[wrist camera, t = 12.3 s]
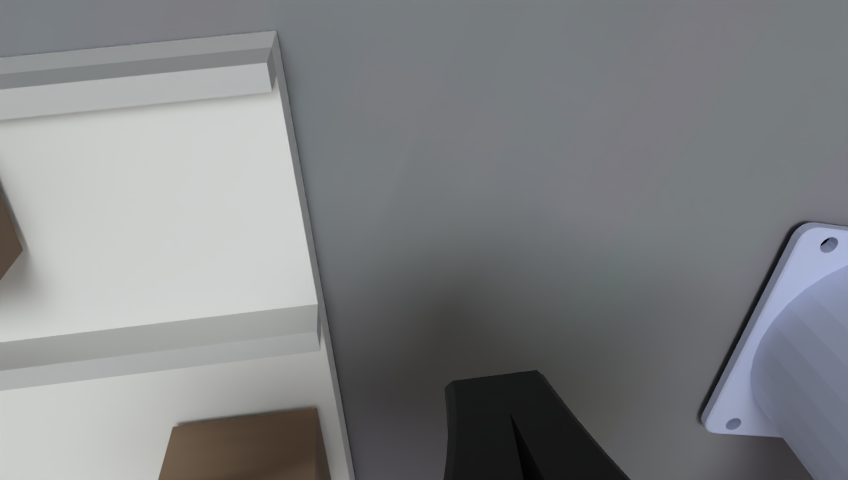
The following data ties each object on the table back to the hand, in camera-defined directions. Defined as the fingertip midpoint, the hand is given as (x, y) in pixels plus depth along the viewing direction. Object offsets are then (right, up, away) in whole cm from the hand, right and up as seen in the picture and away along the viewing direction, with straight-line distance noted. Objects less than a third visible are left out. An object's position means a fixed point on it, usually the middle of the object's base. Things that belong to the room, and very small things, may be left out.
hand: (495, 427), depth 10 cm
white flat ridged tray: (-10, -3, +11) cm, 15 cm away
